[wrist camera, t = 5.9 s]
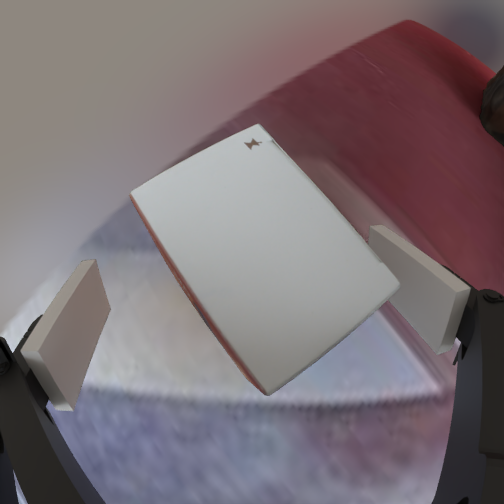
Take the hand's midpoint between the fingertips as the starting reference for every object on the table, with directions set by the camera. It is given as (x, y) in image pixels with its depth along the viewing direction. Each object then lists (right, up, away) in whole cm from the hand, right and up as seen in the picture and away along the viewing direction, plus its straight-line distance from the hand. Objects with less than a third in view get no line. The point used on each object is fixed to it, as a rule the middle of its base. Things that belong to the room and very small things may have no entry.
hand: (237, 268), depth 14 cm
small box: (0, -3, +5) cm, 6 cm away
